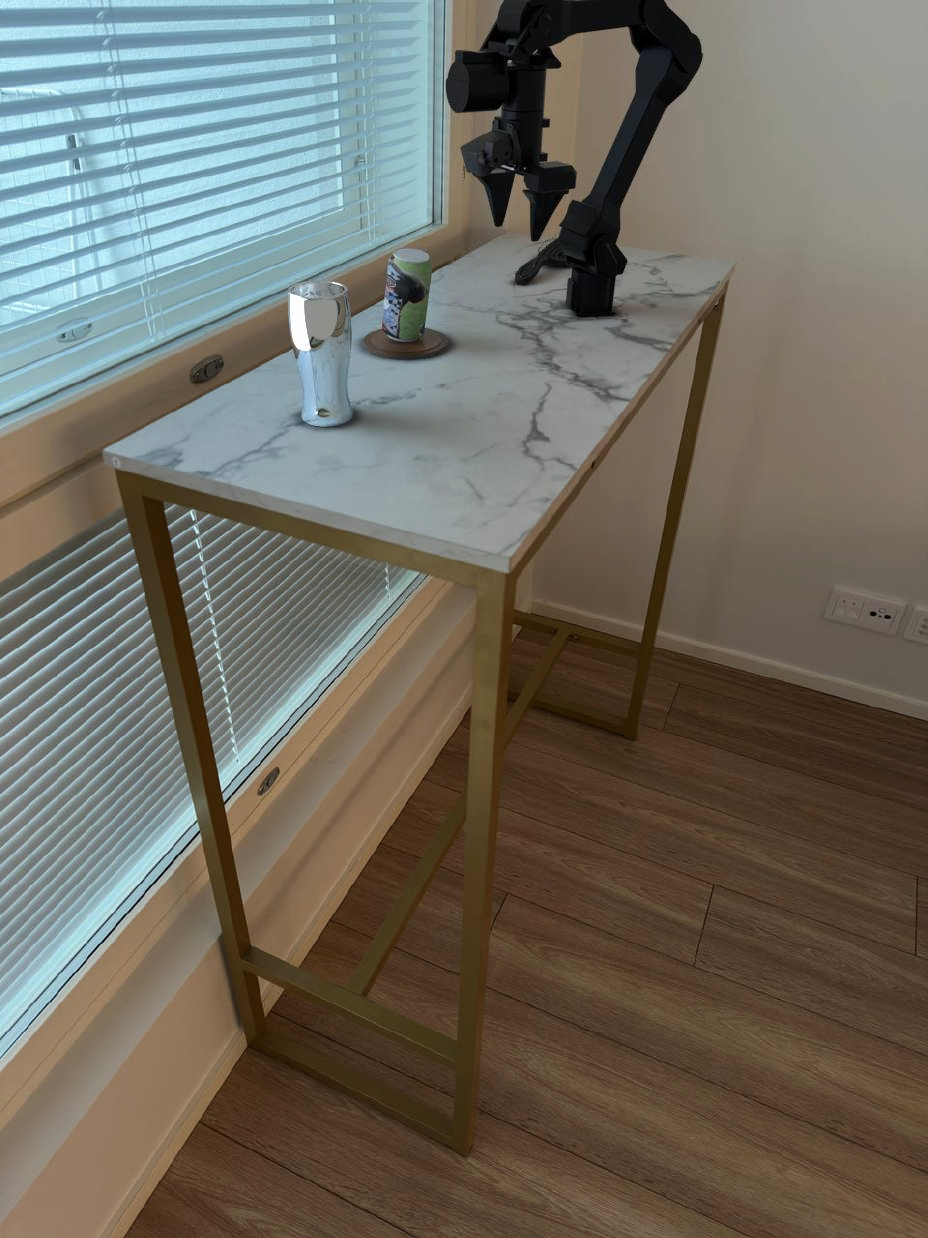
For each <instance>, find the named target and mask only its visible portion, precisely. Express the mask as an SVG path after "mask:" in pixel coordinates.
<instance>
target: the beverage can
mask: <svg viewBox="0 0 928 1238" xmlns="http://www.w3.org/2000/svg"><path fill="white" fill-rule="evenodd" d="M430 259H431V258H430V255H429V254H428V253H427V252H425V251H424V250H421V249H417V248H413V247H398V248H396V249H394V250H393V252H392V255H391V256H390V257H389V259H388V261H387V269H386V270H387V271H386V280H385V291H384V301H383V311H382V322H381V329H382V330H383V331H384V333H386V334H387V335H388V337H390V338H391V339H393V340H396V341H400V342H413V341H415V340H417V339H419V338H421V337H422V336H423V335H424V330H425V328H426V321H427V313H428V307H429V298H430V290H431V283H432V276H433V264H432V262H431V261H430Z"/></svg>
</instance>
